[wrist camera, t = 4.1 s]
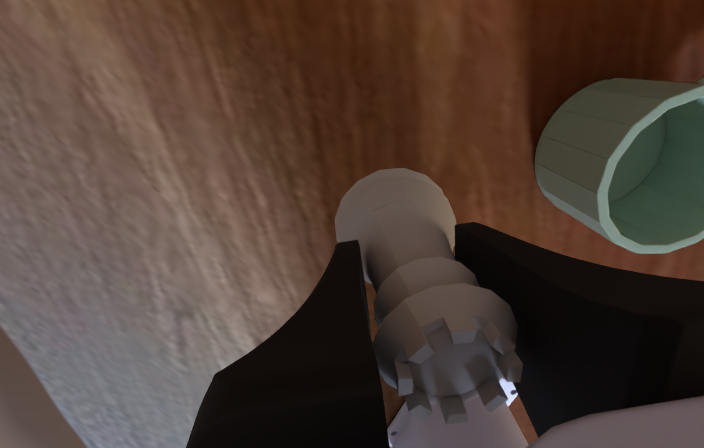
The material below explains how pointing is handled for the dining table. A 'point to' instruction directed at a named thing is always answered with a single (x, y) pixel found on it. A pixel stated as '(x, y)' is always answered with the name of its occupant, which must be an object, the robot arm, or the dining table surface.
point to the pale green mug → (629, 161)
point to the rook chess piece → (427, 298)
